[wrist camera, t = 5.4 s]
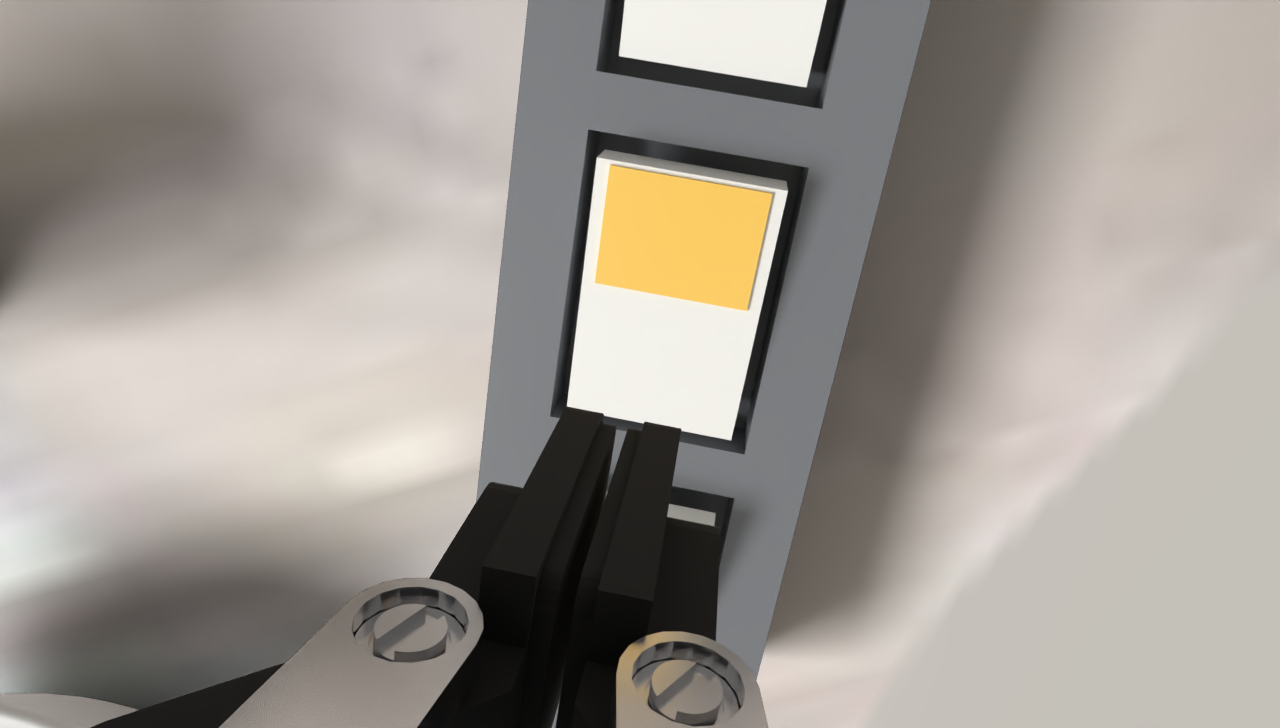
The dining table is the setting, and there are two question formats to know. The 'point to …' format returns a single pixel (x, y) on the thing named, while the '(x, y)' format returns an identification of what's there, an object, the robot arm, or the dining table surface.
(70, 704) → the soup bowl
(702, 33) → the rocker
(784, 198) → the middle rocker
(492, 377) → the rocker switch panel
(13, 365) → the dining table surface
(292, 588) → the dining table surface
